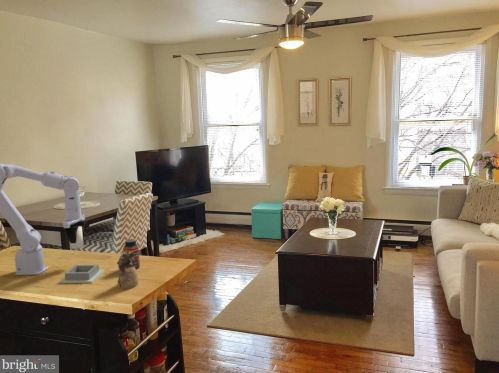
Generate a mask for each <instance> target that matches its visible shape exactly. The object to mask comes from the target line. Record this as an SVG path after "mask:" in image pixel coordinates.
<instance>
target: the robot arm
mask: <svg viewBox="0 0 499 373" xmlns="http://www.w3.org/2000/svg"><path fill="white" fill-rule="evenodd" d="M16 177H19V178H24V179H29V180H33V181H36V182H37V181H38V182H41V184H42V186H44V187H48V188H52V189H56V190H59V191H61V190H63V193H64V198H63V199H64V210H65V221H64V222H63V223H62V224H63V225H62V230H63V231H64V232H65V234H66V236H67V238H68V241H69V244H70V243H76V236H77V229H78V227H79V226H81V227H82V235H83V236H84V230H85V227H86V224H87V220H85V219H86V217H85V214H82V204H81V196H80V191H79V188H80V182H79V180H78V179H77V178H76V177H74V176H73V175H71V176H69V175H67V174H65V175H63V174H60V173H56V171H54V170H51V171H45V172H40V171H36V170H33V169H30V168H27V167H24V166H23V167H22V166H20V165H16V164H11V163H5V162H0V213H1V215H2V216H3V218H4V219H5V220H6V221H7V222H8V224H9V225H10V227H11V228H12V229H13V231H14V232H15V235H16V238H17V240H18V241H19V245H20V248H21V249H18V250H17V251H16V252H15V255H14V264H15V273H14V275H16V276H20V275H21V276H22V275H23V276H26V275H27V276H30V275H31V276H32V275H33V276H35V275H41V274H42V273H44V272H45V271H46V270H47V269H49V268H50V266H45V262H44V252H43V246H42V245H41V243H40V242H41V241H42V235H41V233H40V232H39V231H38V230H36V229H35V228H33V226H32V225H31V224H28V223H27V221H26V219H25V218H24V217H23V216H22V214H21V213H20V212H19V210H18V209H17V208H16V206H15V204H14V203H13V202H12V201H11V199H9V197H8V196H7V193H6V192H5V191H4V186H5V183H6V181H7V179H12V178H16Z"/></svg>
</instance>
